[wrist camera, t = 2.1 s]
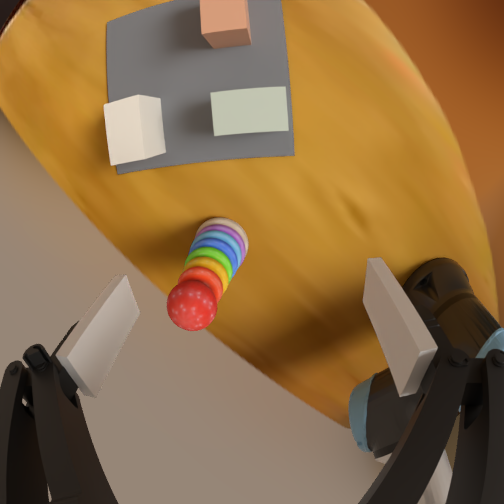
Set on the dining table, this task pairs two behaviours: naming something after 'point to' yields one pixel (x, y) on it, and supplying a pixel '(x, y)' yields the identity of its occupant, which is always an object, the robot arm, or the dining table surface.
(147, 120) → the cream brick
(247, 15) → the terracotta brick
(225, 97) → the sage brick
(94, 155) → the dining table surface
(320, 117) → the dining table surface
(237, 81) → the charcoal mat
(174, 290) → the stacking toy
